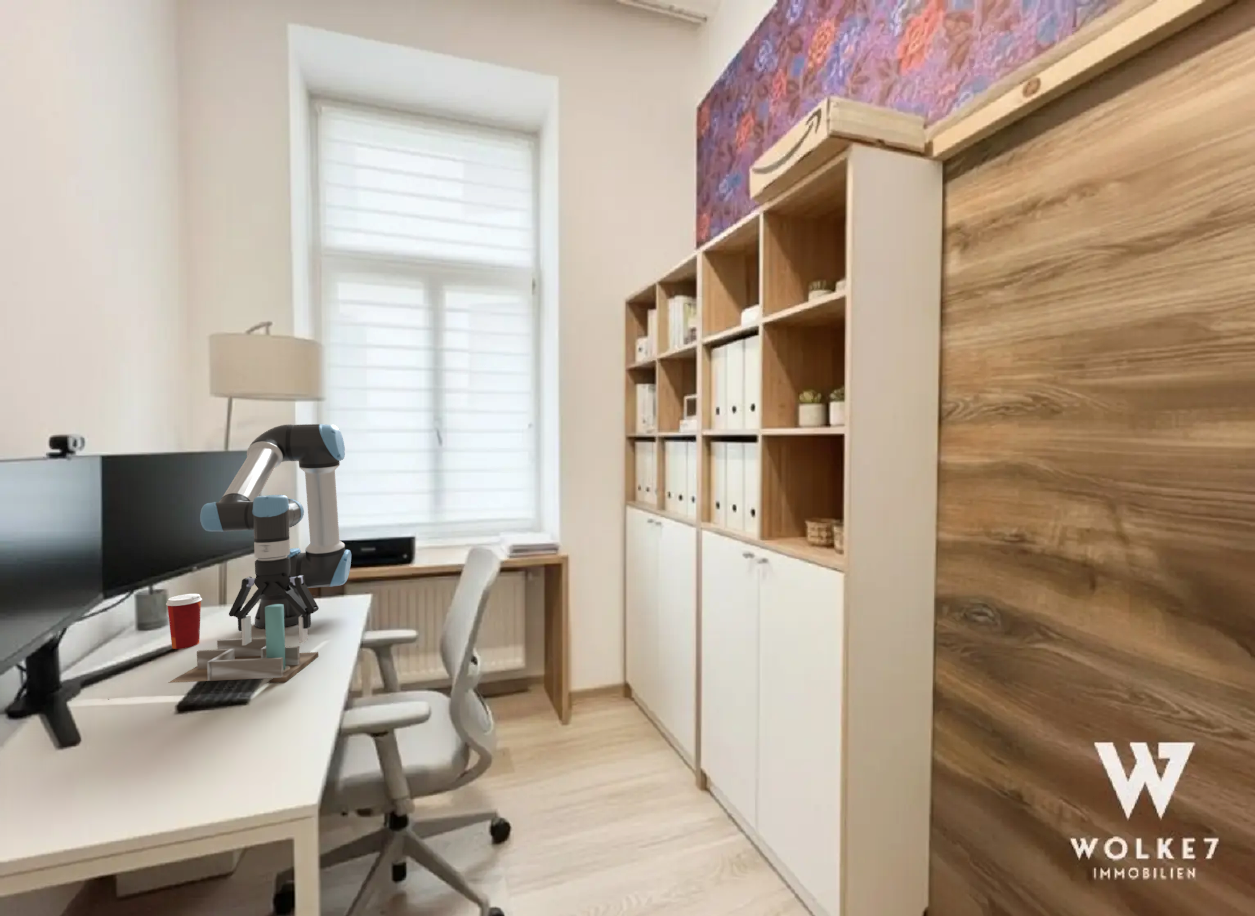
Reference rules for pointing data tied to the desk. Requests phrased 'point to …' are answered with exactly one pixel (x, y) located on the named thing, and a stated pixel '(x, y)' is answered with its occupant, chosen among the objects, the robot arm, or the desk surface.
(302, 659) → the slot board
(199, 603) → the coffee cup
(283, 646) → the teal dowel
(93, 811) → the desk surface
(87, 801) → the desk surface
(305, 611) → the robot arm
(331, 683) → the desk surface
